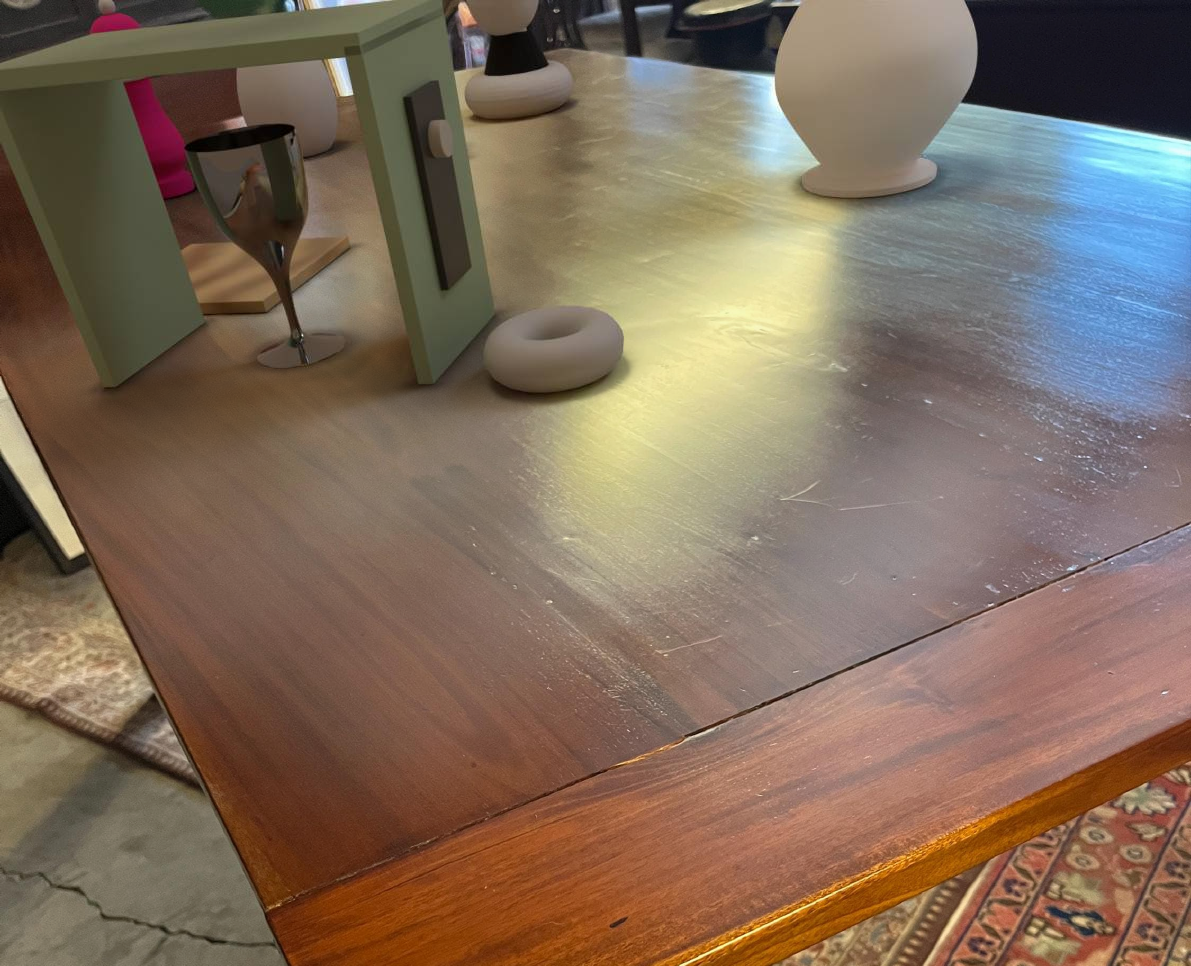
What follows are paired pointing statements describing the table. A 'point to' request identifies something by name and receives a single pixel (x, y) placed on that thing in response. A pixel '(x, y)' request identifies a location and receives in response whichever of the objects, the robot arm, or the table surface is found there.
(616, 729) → the table surface
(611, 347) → the donut
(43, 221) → the cubby
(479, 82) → the decorative figurine
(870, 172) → the decorative vase
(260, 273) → the cutting board
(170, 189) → the pepper mill
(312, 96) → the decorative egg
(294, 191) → the wine glass
